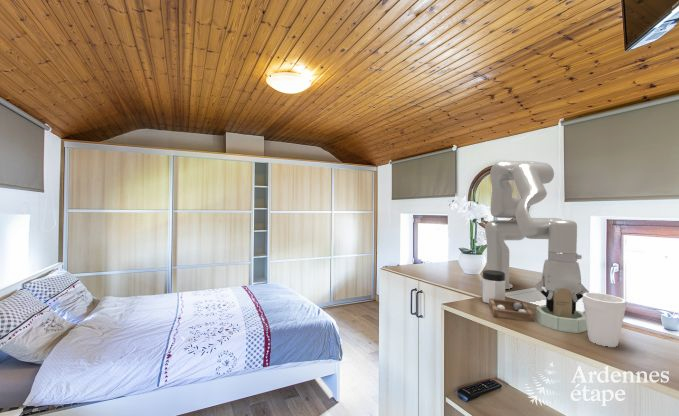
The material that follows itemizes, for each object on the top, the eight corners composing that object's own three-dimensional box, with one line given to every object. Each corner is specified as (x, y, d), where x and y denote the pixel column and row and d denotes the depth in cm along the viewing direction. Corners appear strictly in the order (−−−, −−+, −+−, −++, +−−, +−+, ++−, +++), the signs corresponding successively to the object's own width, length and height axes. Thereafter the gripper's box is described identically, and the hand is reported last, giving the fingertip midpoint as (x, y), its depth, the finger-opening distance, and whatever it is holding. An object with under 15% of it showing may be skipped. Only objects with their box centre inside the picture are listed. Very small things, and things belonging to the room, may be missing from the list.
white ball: (516, 315, 107) (516, 307, 107) (526, 316, 106) (526, 308, 106) (518, 318, 104) (518, 310, 104) (528, 319, 103) (528, 311, 103)
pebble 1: (497, 305, 109) (497, 314, 109) (506, 306, 108) (506, 314, 108) (495, 303, 111) (495, 311, 111) (504, 303, 111) (504, 312, 111)
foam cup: (629, 353, 81) (630, 305, 81) (585, 344, 86) (585, 299, 85) (619, 339, 89) (620, 295, 89) (580, 332, 94) (580, 290, 94)
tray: (489, 305, 118) (489, 298, 118) (524, 308, 114) (524, 302, 114) (494, 317, 106) (494, 310, 106) (533, 321, 102) (533, 314, 102)
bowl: (532, 314, 108) (533, 303, 108) (576, 319, 104) (576, 307, 104) (543, 328, 96) (543, 316, 96) (593, 335, 92) (593, 322, 92)
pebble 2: (512, 308, 114) (512, 300, 114) (521, 309, 113) (521, 301, 113) (514, 311, 112) (514, 303, 111) (523, 312, 111) (523, 304, 110)
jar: (509, 302, 121) (509, 272, 121) (500, 306, 116) (500, 275, 116) (486, 296, 128) (487, 268, 128) (477, 300, 123) (477, 271, 123)
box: (553, 320, 99) (553, 286, 99) (549, 315, 103) (549, 283, 103) (573, 322, 97) (572, 288, 97) (567, 317, 101) (567, 284, 101)
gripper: (588, 257, 100) (586, 311, 101) (529, 253, 106) (528, 304, 107) (599, 261, 93) (597, 319, 94) (535, 257, 99) (533, 312, 100)
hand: (560, 311), depth 100 cm, fingers open, 5 cm apart
